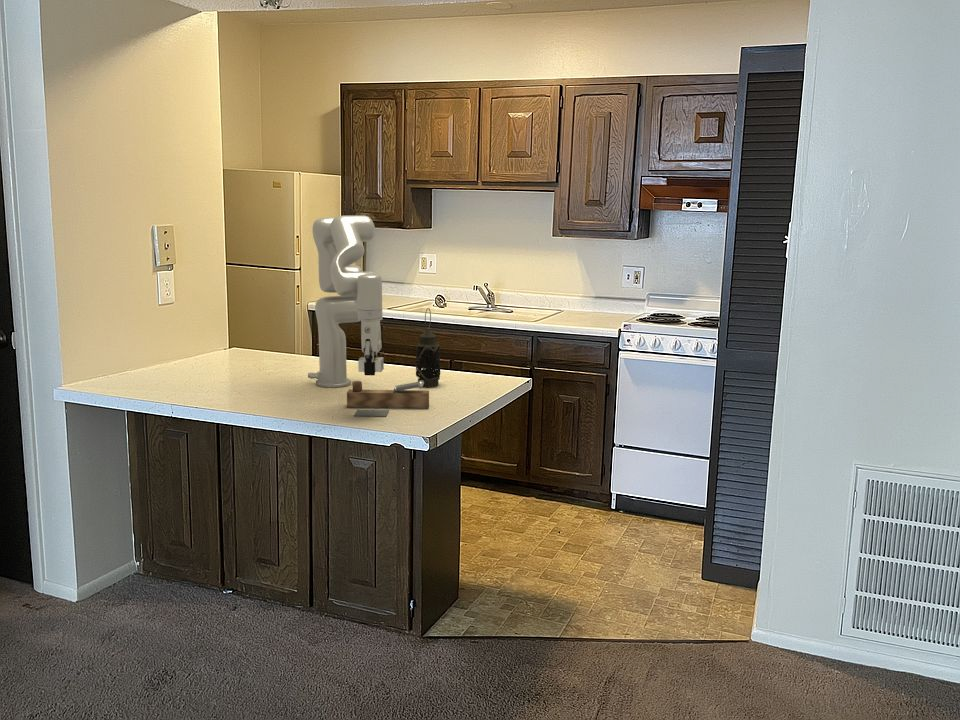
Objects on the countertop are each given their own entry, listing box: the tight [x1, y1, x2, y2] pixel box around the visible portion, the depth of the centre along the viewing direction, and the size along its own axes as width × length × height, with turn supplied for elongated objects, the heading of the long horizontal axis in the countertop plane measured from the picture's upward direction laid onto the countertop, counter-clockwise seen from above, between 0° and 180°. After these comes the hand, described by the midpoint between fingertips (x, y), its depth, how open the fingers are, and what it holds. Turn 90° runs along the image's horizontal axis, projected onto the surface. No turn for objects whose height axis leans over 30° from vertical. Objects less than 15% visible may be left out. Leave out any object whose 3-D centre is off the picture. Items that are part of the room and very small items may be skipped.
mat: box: [353, 409, 390, 418], centre depth 266 cm, size 10×7×1 cm
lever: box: [393, 380, 424, 392], centre depth 273 cm, size 2×5×10 cm
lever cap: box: [357, 356, 385, 373], centre depth 263 cm, size 7×5×4 cm
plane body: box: [346, 380, 430, 410], centre depth 274 cm, size 26×4×8 cm, turn 89°
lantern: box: [414, 307, 441, 389], centre depth 303 cm, size 10×9×28 cm
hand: (371, 372), depth 263 cm, fingers closed on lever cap, 5 cm apart
